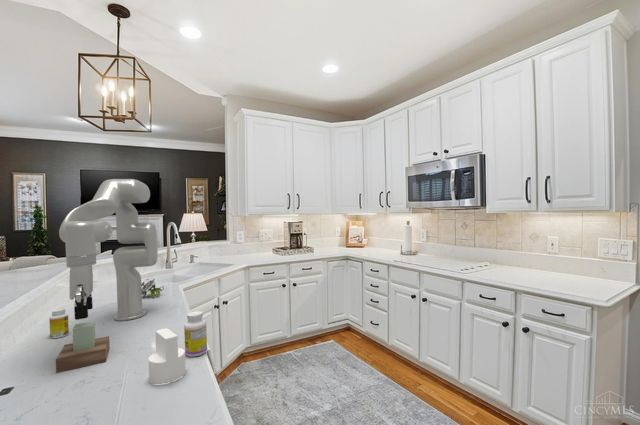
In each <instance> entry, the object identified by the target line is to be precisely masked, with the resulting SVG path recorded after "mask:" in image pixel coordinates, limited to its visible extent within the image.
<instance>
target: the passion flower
mask: <svg viewBox="0 0 640 425" xmlns="http://www.w3.org/2000/svg"><path fill="white" fill-rule="evenodd" d="M155 280H156V279H155V278H153V279H152V280H148V282H146V283H145V281H143V282H141V287H142V299H144V298H145V296H146V295H147V293H150V296H151V298H152V299H155V296H156V297H159V295H160V294H161V292H163V290H165V288H164V287H165V286H164V285H162V286H160V287H156V282H155ZM143 297H144V298H143Z"/></svg>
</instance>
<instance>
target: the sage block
mask: <svg viewBox="0 0 640 425" xmlns="http://www.w3.org/2000/svg"><path fill="white" fill-rule="evenodd" d="M95 339H96V321H95V320H92V321H87V322H81V323H75V325H73V328H72V343H73V352H75V351H80V350H84V349H89V348H94V345H95Z"/></svg>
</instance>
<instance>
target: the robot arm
mask: <svg viewBox="0 0 640 425" xmlns="http://www.w3.org/2000/svg"><path fill="white" fill-rule="evenodd" d="M150 198H151V190H150V189H149V187H148V185H147V184H146V183H144V182H143V181H140V180H138V179H134V178H111V179H106V180H104V181H103V182H102V183H101V184H100V185H99V187H98V189H97V191H96V192H95V194H94V196H93V198H92V199H91V200H89V201H87V202H85V203H83V204H81V205H79V206H78V207H75V208H74V209H72V210H70V212H68V213H67V215H66V216H65V218H64V219H63V221H62V223H61V224H60V226H59V227H60V228H59V230H58V235H59V238H60V240H61V241H62V242H63V243H65V260H66V262H65V264H66V268H70V269H69V300H72V301H73V300H74V304H73V305H74V307H73V309H74V311H73V312H74V320H76V321H78V320H83V319H87V318H89V310H93V307H94V306H93V296H92V295H93V294H92V293H93V291H94V279H93V278H94V275H93V272H94V271H93V266H94V265H97V250H96V243H103V242H106V241H108V240H109V239H110V238H111V236H112V234H113V229H112V225H111V224H110V223H109V222H108V221H105V220H100V219H104V218H107V217H110V216H112V215H113V214H115V220H116V224H115V225H116V226H115V227H116V229H115V230H116V240H117V241H118V243H120V244H123V245H124V244H127V245H128V244H129V245H130V244H131V245H133V244H144V245H138V246H136V245H135V246H122V247H118V248H117V249H116V250H114V252H113V255H112V261H113V264H114V268H115V274H116V298H117V300H116V301H117V313H116V314H114V316H113V320H114V321H121V322H122V321H130V320H134V319H138V318H141V317H144V316H145V315H147V310H146V309H143V298H142V296H143V295H142V287H143V286H141V284H142V275H141V274H140V272H139V271H138V269H136V268H143V267H145V268H146V267H153V266H155V265H156V264H157V263H158V254H159V253H158V233H157V232H158V231H157V228H156V225H155V224H154V223H152V222H148V221H147V222H145V221H143V222H142V221H141V222H139V216H138V215H139V212H138V210H137V209H136V207H135V206H134V205H133V204H143V203H144V204H145V203H147V202H148V201H149V200H150Z"/></svg>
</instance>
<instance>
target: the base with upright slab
mask: <svg viewBox="0 0 640 425" xmlns="http://www.w3.org/2000/svg"><path fill="white" fill-rule="evenodd" d="M178 343H179V342H178V335H177V334H176V333H174V332H173V331H172V330H170V329H169V328H167V327H166V328H161V329H158V330H155V347H156V348H155V351H156V352H154V353H152V354H151V355H150V356H149V357H148V376H149V377H148V378H149V379H148V381H150V382H149V384H150V385H152V384H162V383H168V382H172V381H174V380H176V379H178V378H180V377H181V376H183V375H184V373H185V374H186V356H185V355H186V354H185V348H181V347H179V344H178ZM184 376H185V375H184ZM184 376H183V377H184Z"/></svg>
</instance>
